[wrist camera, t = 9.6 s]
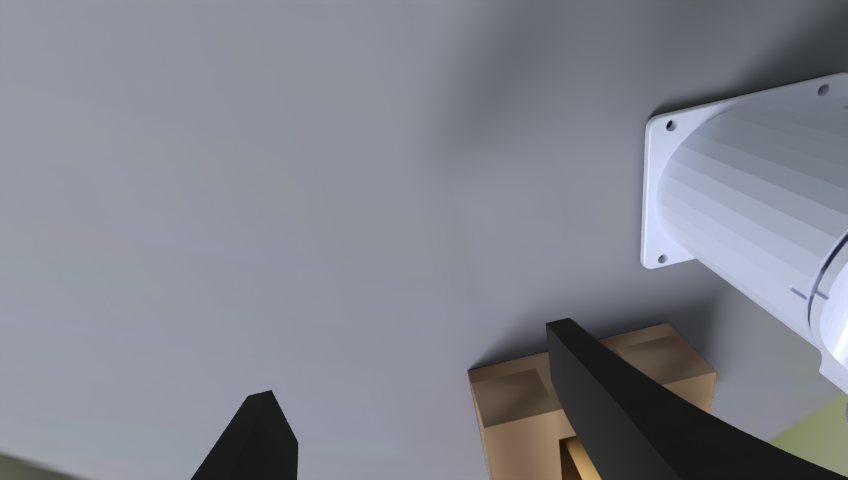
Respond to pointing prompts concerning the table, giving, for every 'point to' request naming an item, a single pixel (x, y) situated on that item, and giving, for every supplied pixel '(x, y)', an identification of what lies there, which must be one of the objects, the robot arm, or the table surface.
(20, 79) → the table surface
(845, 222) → the robot arm
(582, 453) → the ochre peg
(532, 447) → the walnut socket block
